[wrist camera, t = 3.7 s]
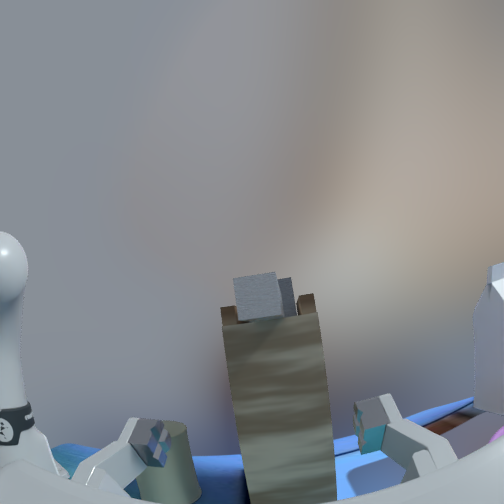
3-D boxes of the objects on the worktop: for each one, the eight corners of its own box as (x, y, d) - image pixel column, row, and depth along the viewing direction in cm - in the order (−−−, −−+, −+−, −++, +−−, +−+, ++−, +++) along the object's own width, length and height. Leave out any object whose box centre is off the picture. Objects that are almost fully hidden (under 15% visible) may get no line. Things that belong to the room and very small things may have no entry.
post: (337, 507, 22) (314, 293, 29) (253, 516, 23) (219, 307, 30) (327, 467, 34) (307, 302, 41) (263, 475, 35) (238, 312, 42)
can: (158, 515, 23) (136, 441, 26) (131, 489, 29) (112, 423, 32) (214, 494, 29) (199, 425, 32) (180, 476, 35) (166, 414, 38)
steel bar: (303, 310, 19) (291, 241, 21) (217, 323, 20) (209, 254, 21) (295, 317, 40) (290, 283, 42) (254, 324, 41) (249, 290, 42)
